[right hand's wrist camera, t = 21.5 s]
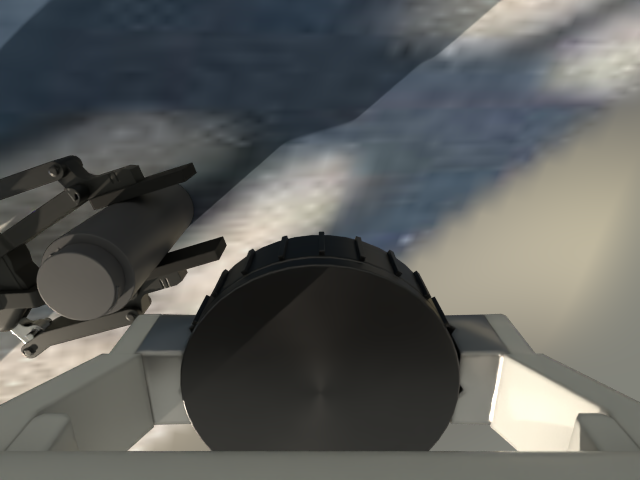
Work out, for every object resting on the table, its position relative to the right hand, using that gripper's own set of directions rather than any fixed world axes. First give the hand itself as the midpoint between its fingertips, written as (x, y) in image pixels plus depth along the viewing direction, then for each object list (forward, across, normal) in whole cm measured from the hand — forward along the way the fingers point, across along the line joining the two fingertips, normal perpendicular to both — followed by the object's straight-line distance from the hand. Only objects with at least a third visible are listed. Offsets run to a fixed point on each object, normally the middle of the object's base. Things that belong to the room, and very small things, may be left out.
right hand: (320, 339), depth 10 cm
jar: (+26, +13, +4) cm, 29 cm away
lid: (-2, 0, 0) cm, 2 cm away
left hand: (+20, +8, +3) cm, 22 cm away
